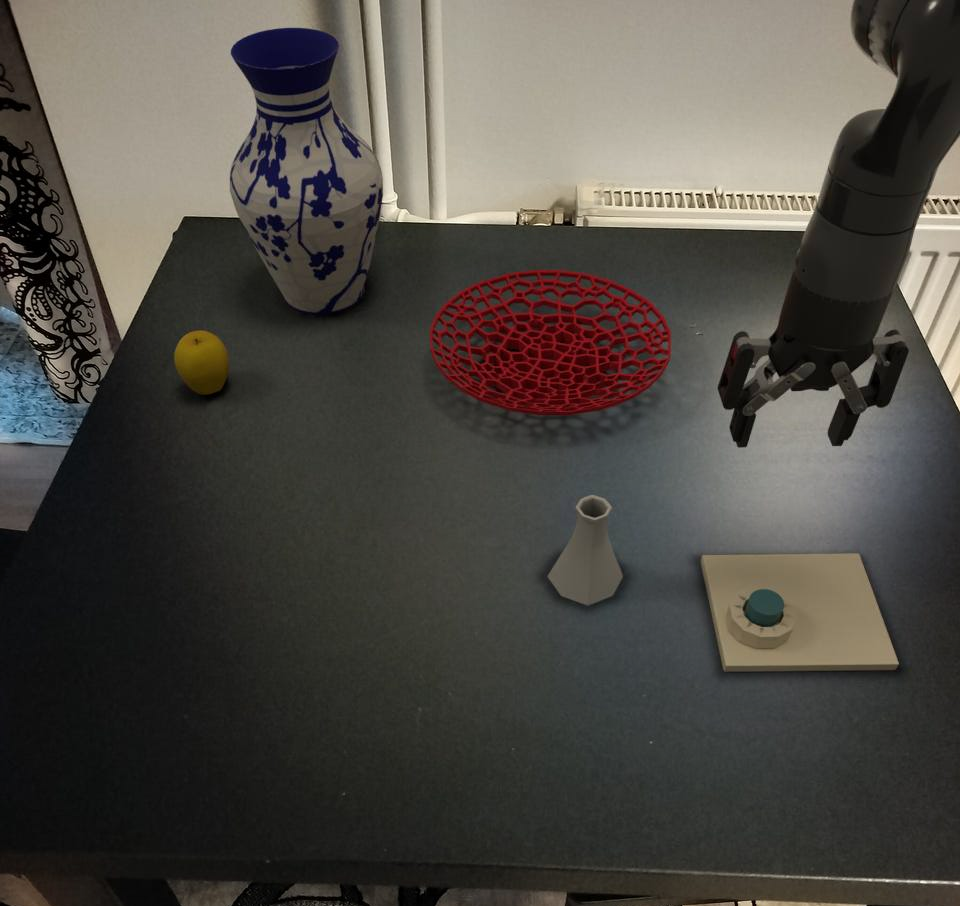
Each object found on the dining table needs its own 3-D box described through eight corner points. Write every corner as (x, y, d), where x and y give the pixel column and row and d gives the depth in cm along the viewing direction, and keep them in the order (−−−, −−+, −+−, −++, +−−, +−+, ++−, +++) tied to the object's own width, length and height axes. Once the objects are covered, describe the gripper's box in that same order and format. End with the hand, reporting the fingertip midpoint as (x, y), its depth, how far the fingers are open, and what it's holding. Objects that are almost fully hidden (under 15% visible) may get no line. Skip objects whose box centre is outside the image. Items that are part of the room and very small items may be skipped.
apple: (212, 411, 107) (194, 354, 101) (173, 394, 110) (154, 337, 103) (247, 383, 111) (233, 327, 104) (209, 367, 113) (193, 310, 107)
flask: (534, 578, 90) (538, 507, 82) (581, 542, 93) (590, 469, 86) (588, 617, 87) (597, 547, 79) (635, 578, 90) (649, 506, 82)
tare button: (775, 600, 85) (780, 588, 83) (782, 626, 83) (787, 614, 81) (742, 601, 85) (746, 588, 83) (748, 627, 83) (752, 615, 81)
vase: (340, 349, 115) (301, 95, 91) (227, 309, 121) (162, 60, 97) (419, 279, 125) (402, 34, 101) (310, 245, 131) (270, 6, 107)
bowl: (636, 469, 100) (642, 434, 96) (395, 418, 106) (391, 382, 102) (686, 326, 117) (693, 291, 113) (475, 289, 123) (475, 254, 119)
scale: (855, 561, 91) (865, 540, 89) (894, 671, 83) (906, 652, 80) (699, 562, 91) (705, 542, 89) (723, 673, 83) (729, 654, 81)
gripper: (763, 299, 64) (716, 470, 77) (957, 296, 65) (878, 467, 77) (741, 246, 69) (700, 416, 82) (922, 244, 69) (853, 413, 82)
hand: (786, 441), depth 80 cm, fingers open, 8 cm apart
